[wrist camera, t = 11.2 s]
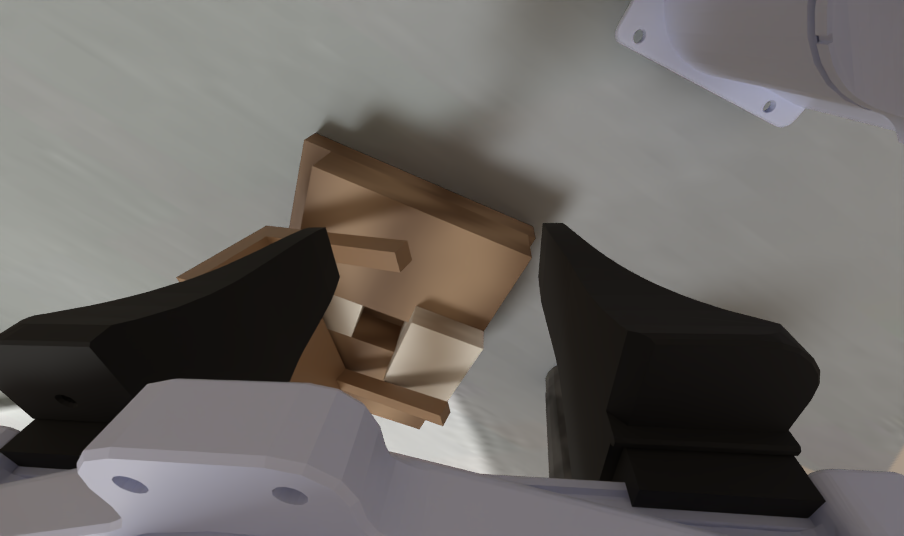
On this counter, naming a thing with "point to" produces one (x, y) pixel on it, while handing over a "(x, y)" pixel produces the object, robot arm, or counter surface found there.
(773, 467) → the robot arm
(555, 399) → the beverage cup
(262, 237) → the wooden l-shaped bracket
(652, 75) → the counter surface
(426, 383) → the wooden block stack
